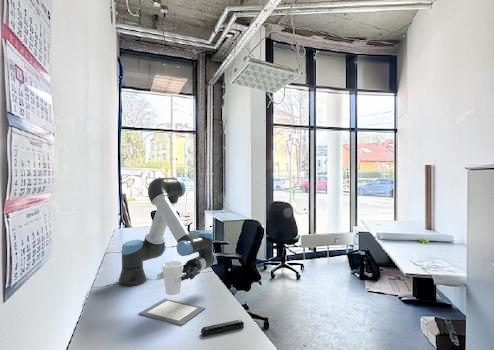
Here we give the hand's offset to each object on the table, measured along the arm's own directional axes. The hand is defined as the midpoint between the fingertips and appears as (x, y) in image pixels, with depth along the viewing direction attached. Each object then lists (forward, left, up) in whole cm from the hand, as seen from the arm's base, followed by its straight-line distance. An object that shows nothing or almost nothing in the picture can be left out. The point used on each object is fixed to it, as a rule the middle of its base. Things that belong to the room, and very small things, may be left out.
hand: (166, 279), depth 143 cm
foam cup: (0, +4, -8) cm, 9 cm away
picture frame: (0, +4, -17) cm, 17 cm away
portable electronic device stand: (+29, 0, -17) cm, 34 cm away
